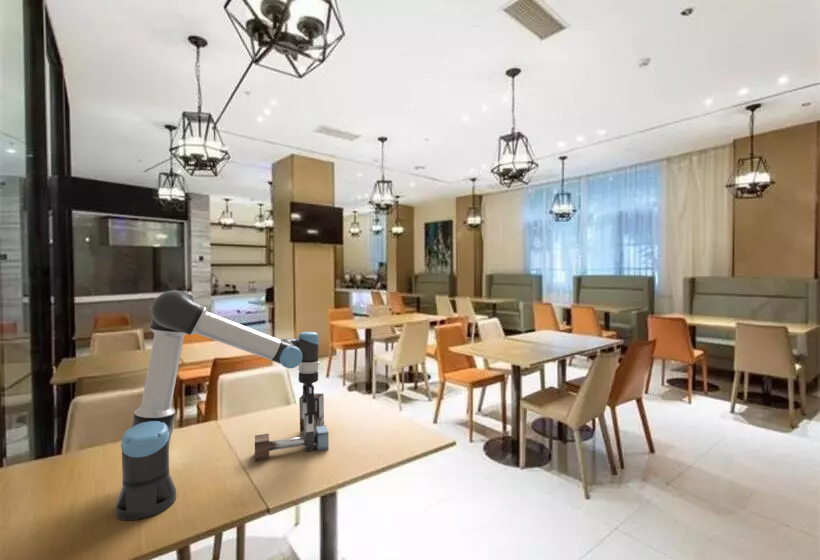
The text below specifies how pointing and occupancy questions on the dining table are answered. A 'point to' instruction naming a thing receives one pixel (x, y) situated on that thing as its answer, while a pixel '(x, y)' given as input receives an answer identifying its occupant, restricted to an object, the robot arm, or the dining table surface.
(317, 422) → the coffee box
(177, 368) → the robot arm
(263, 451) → the sleeve
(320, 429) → the socket
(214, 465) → the dining table surface
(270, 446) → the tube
